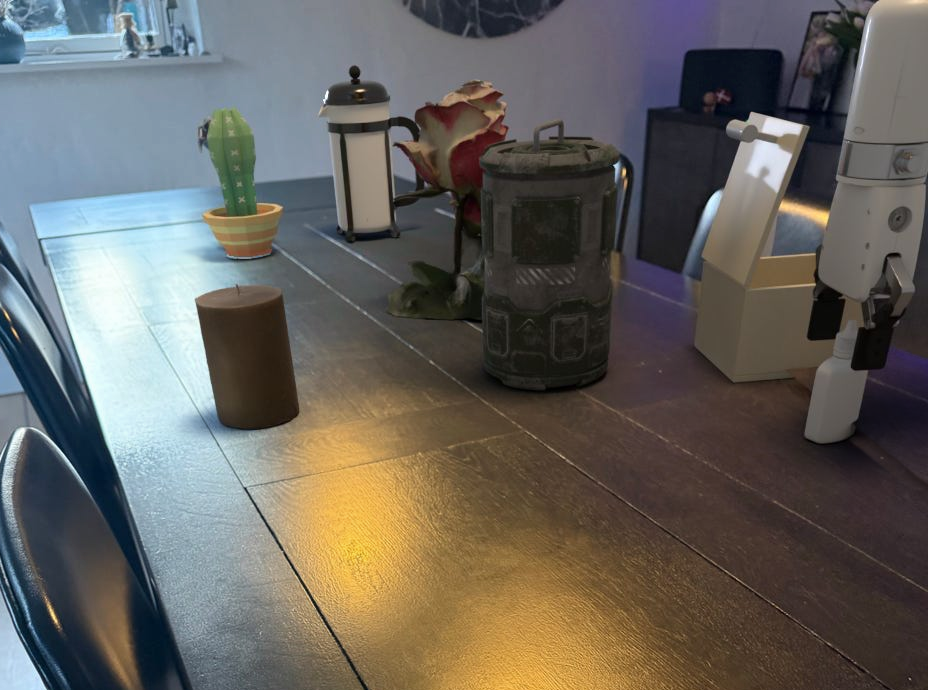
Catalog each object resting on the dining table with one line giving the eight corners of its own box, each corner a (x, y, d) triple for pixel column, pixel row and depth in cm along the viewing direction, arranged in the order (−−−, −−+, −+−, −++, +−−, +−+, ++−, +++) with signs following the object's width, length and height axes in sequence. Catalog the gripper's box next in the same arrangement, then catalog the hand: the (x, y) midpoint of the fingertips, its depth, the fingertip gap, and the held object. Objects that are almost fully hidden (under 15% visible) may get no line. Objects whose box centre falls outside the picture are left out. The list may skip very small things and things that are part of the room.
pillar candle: (301, 425, 107) (282, 290, 98) (215, 433, 106) (188, 298, 97) (298, 396, 115) (280, 269, 106) (218, 404, 113) (194, 276, 105)
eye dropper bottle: (795, 429, 99) (816, 315, 93) (848, 427, 99) (873, 313, 92) (808, 445, 96) (830, 328, 89) (863, 443, 96) (890, 325, 89)
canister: (512, 346, 127) (511, 113, 111) (624, 358, 121) (640, 113, 105) (463, 384, 115) (453, 130, 99) (584, 399, 109) (595, 131, 93)
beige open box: (806, 337, 125) (821, 252, 119) (857, 372, 113) (877, 280, 107) (694, 346, 124) (703, 261, 118) (733, 382, 112) (745, 290, 106)
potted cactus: (261, 242, 191) (240, 102, 176) (304, 252, 181) (286, 105, 167) (194, 256, 182) (167, 111, 168) (236, 267, 173) (211, 114, 159)
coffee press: (380, 246, 183) (366, 68, 166) (317, 239, 190) (298, 68, 173) (429, 229, 194) (420, 61, 177) (368, 223, 202) (354, 61, 185)
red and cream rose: (560, 327, 133) (566, 85, 116) (374, 317, 142) (353, 90, 125) (596, 282, 153) (605, 69, 136) (430, 276, 162) (419, 75, 145)
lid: (756, 113, 109) (718, 103, 108) (810, 126, 97) (767, 115, 96) (706, 258, 118) (670, 250, 116) (749, 286, 106) (709, 278, 104)
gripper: (979, 174, 76) (925, 379, 86) (876, 148, 90) (840, 327, 100) (891, 179, 75) (847, 385, 85) (802, 152, 90) (772, 331, 99)
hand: (843, 353), depth 92 cm, fingers open, 9 cm apart
